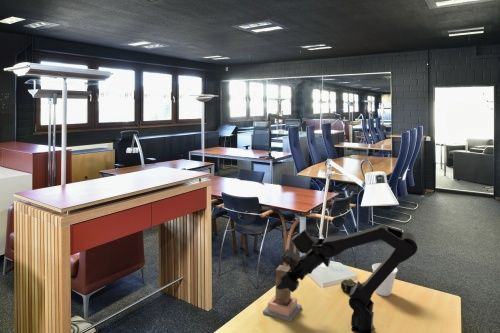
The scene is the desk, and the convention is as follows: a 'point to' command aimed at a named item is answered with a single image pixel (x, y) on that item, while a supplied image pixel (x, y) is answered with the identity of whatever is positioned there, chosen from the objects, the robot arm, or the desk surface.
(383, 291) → the cup
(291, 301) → the socket stand
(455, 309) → the desk surface
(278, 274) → the walnut pillar
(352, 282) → the tape measure
